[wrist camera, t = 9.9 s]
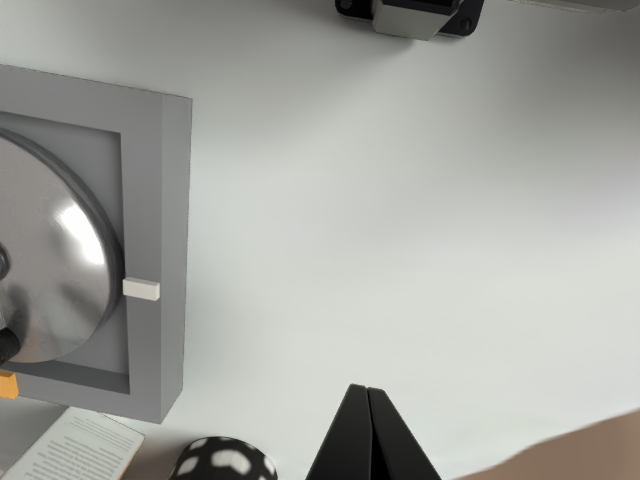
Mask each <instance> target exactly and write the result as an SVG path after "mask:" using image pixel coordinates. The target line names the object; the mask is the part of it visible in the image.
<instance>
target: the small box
mask: <svg viewBox="0 0 640 480" xmlns="http://www.w3.org/2000/svg"><path fill="white" fill-rule="evenodd" d="M144 439H145V436H144V435H143V434H141V433H139V432H136V431H134V430H132V429H130V428H128V427H126V426H124V425H122V424H120V423H118V422H116V421H114V420H112V419H110V418H108V417H106V416H104V415H102V414H100V413H98V412H96V411H91V410H86V409H81V408H76V407H71V406H69V407H68V408H67V409H66V410H65V411H64V412H63V413H62V414H61V415H60V416H59V417H58V418H57V419H56V420H55V421H54V423H53V424H52V425H51V426H50V427H49V428H48V429H47V430H46V431H45V432H44V433H43V434H42V435H41V436H40V437H39V438H38V439H37V440H36V441H35V442H34V443H33V444H32V445H31V446H30V447H29V448H28V449H27V450H26V451H25V452H24V454H23V455H22V456H21V457H20V458H19V459H18V460H17V461H16V462H15V463H14V464H13V465H12V466H11V467H10V468H9V469H8V470H7V471H6V472H5V473H4V474H3V475H2V476H1V477H0V480H121V479H122V477H123V475H124V473H125V472H126V470H127V468H128V466H129V465H130V463H131V461H132V460H133V458H134V456H135V454H136V453H137V451H138V449H139V448H140V446H141V444H142V443H143V441H144Z"/></svg>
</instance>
